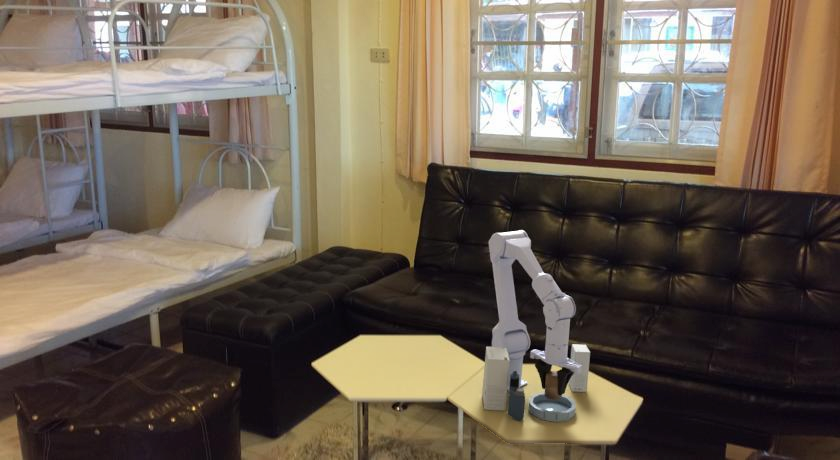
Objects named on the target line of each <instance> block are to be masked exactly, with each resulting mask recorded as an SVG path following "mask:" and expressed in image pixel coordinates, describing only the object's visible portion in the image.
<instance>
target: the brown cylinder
mask: <svg viewBox="0 0 840 460" xmlns="http://www.w3.org/2000/svg"><path fill="white" fill-rule="evenodd" d="M544 392H545V397H546V398H548V399H553V400H557V399H560V398H561V396H562V395H563V394H562V395H558V376H557V371H555V370H551V371H549V372H547V373H546V381H545V389H544Z"/></svg>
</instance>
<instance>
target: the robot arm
mask: <svg viewBox="0 0 840 460" xmlns="http://www.w3.org/2000/svg"><path fill="white" fill-rule="evenodd" d="M531 247H532V240H531V239H530V237H529V236H528V233H527V232H526V231H525V230H523V229H519V230H514V231H506V232H495V233H493V234H492V235H491V237H490V238H489V240H488V249H489V256H490V257H489V258H490V262H491V263H492V265H491V266H492V273H493V279H494V281H493V282H494V289H495V296H496V304H497V311H498V319H499V320H498V323H497V324H496V325H495V326H494V327H493V328H492V330H491V331H492V332H491V333H492V339H491V347H502V348H507V352H508V357H509V360H510V363H509V374H508V385H507V391H509V388H510V375H511V374H513V371H517V374H519V388H523V387H524V386H525V385H528V383H529V382H528V381H527V380H524V379H522V378H523V377H522V375H523V362H524V361H523V360H524V356H525V355H526V352H527V351H528V350H529V349H530V346H531V339H530V338H531V337H530V335H529V333H528V330H527V325H526V324H524V322H522V321H520V320H519V315H518V313H519V312H518V306H517V300H516V290H515V284H514V275H513V268H512V265H513V263H514V262H515V261H516V260H517V261H518V262H519V264H520V265H521V266H522V268H523V269H524V270H525V272H526V273H527V274H528V276H529V277H530V278H531V279H532V282H531V286H532V289H533V290H534V292H535V294H536V295H537V297H538V298H539V300H540V301H541V303H542V304H543V307H542V311H543V315H544V318H545V319H544V321H545V322H544V323H545V325H546V333H545V334H546V335H545V347H544V350H539V349H532V350H530V354H529V355H530V356H529V358H530V359H536V360H537V361H536V362H535V363H534V367H535V368H536V371H537V374H538V375H539V379H540V384H541V389H542V390H545V381H546V373H547V372H549V371H552V367H553V366H556V367H558V368H561V369H558V370H557V371H556V372H557V376H558V395H564V394H565V393H566V390H567V387H568V385H569V380H570V378H571V377H572V375H573V374H574V373H575V374H579V373H581V372H582V365H579V364H577V363H575V362H574V361H572V360H571V358H569V357H568V349H569V337H570V324H571V323H570V322H571V318H573V317H574V316H575V315H576V311H577V305H576V304H575V301H574V298H573V297H572V296H569V295H567V294H566V292H562V290H561V288H560V287H559V286H558V284H557V283H556V281H555V280H554V278H553V276H552V275H551V274H550V273H545V272H544V271H543V269H542V266H541V264H540V263H539V261H538V260H537V257H536V256H535V254H534V252H533V250H532V249H531Z"/></svg>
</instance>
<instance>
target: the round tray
mask: <svg viewBox="0 0 840 460" xmlns="http://www.w3.org/2000/svg"><path fill="white" fill-rule="evenodd" d="M576 406H577V403H576V402H575V401H574V400H573V399H572V398H571V397H570V396H567V395H564V394H562V396H561V398H560V399H557V400H553V399H548V398H546V397H545V391H544V392H537V393H535V394H533V395H530V396H529V401H528V412H529V413H530V414H531V415H532V416H534V417H535V418H537V419H539V420H543V421H546V422H553V423H561V422H568V421H569V420H572V419H573V418H574V417H575V415H576Z"/></svg>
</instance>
